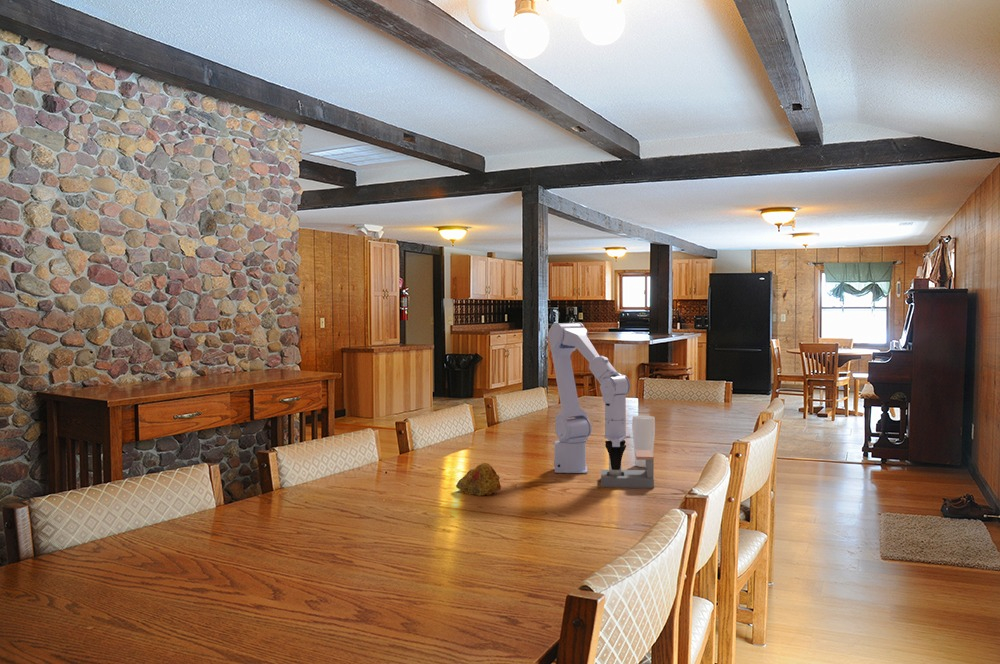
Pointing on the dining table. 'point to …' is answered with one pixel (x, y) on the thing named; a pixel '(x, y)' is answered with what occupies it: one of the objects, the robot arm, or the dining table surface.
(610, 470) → the peg
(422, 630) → the dining table surface
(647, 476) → the socket station
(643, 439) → the cream rounded cylinder
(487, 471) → the rock
